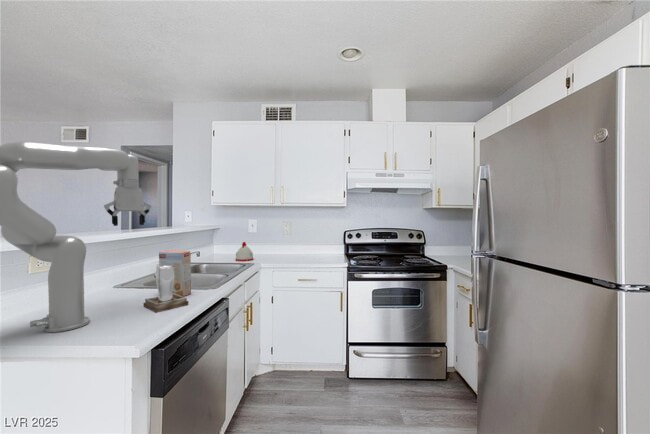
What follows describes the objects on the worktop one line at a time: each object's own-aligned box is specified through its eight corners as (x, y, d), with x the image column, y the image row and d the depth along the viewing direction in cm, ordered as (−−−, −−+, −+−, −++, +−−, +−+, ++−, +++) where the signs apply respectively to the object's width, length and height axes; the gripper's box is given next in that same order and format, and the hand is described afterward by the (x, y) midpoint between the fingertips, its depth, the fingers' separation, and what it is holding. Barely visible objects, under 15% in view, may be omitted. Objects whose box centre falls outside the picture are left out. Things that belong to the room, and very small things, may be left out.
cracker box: (191, 293, 147) (191, 250, 147) (182, 297, 142) (181, 252, 141) (168, 291, 152) (168, 249, 151) (158, 294, 146) (158, 251, 145)
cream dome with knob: (233, 261, 243) (232, 242, 242) (239, 258, 256) (239, 241, 256) (250, 261, 241) (249, 242, 241) (255, 258, 255) (255, 241, 255)
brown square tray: (155, 312, 120) (155, 305, 120) (143, 306, 129) (143, 299, 128) (188, 304, 130) (188, 297, 130) (174, 299, 138) (174, 292, 138)
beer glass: (154, 305, 125) (153, 268, 125) (158, 300, 132) (158, 265, 131) (172, 303, 127) (172, 267, 126) (176, 299, 133) (175, 265, 133)
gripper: (106, 182, 119) (107, 226, 119) (153, 185, 132) (154, 224, 132) (100, 183, 124) (101, 225, 124) (147, 186, 137) (147, 224, 137)
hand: (129, 225), depth 128 cm, fingers open, 9 cm apart
